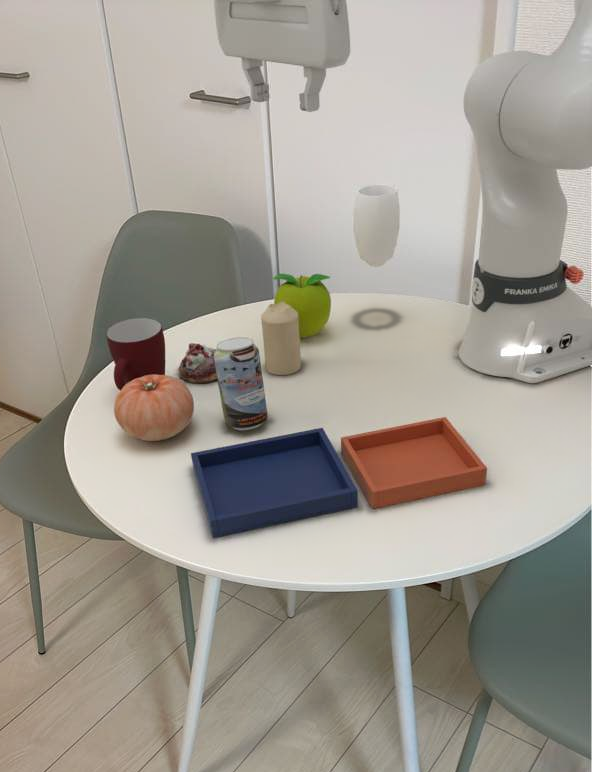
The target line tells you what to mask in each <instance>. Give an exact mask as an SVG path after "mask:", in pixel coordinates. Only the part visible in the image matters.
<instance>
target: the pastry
mask: <svg viewBox="0 0 592 772" xmlns="http://www.w3.org/2000/svg"><path fill="white" fill-rule="evenodd" d="M216 349H217V348H212V347H208V346H206V345H204V344H200V343H193V342H191V343H189V344H188V348H187V350H186V351H185V355H184V357H183V359H181V362H180V364H179V366H178V368H177V372H178V374H179V376H180V378H181V379H183V380H185V381H186V382H187V381H188V382H190V383H194V384H206V383H212V382H214V381H218V379H217V373H216V367H215V361H214V354H215V351H216Z"/></svg>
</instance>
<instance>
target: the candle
mask: <svg viewBox="0 0 592 772" xmlns="http://www.w3.org/2000/svg"><path fill="white" fill-rule="evenodd" d="M260 320H261V330H262V340H263V341H262V342H263V351H264V361H265V363H264V364H265V369H266V371H267V372H268V373H270V374H271V375H276V376H287V375H292V374H295V373H296V372H298V371H300V369H301V367H302V356H301V341H300V339H301V338H299V321H298V312H297V311H296V310H295V309H293V308H292V307H291V306H290V305H287V304H286V303H285V302H280V303H278V304H276V305H274V303H269V304H268V306H267V307H266V309H265V310H264V311H263V312H262V314H261V316H260Z"/></svg>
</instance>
